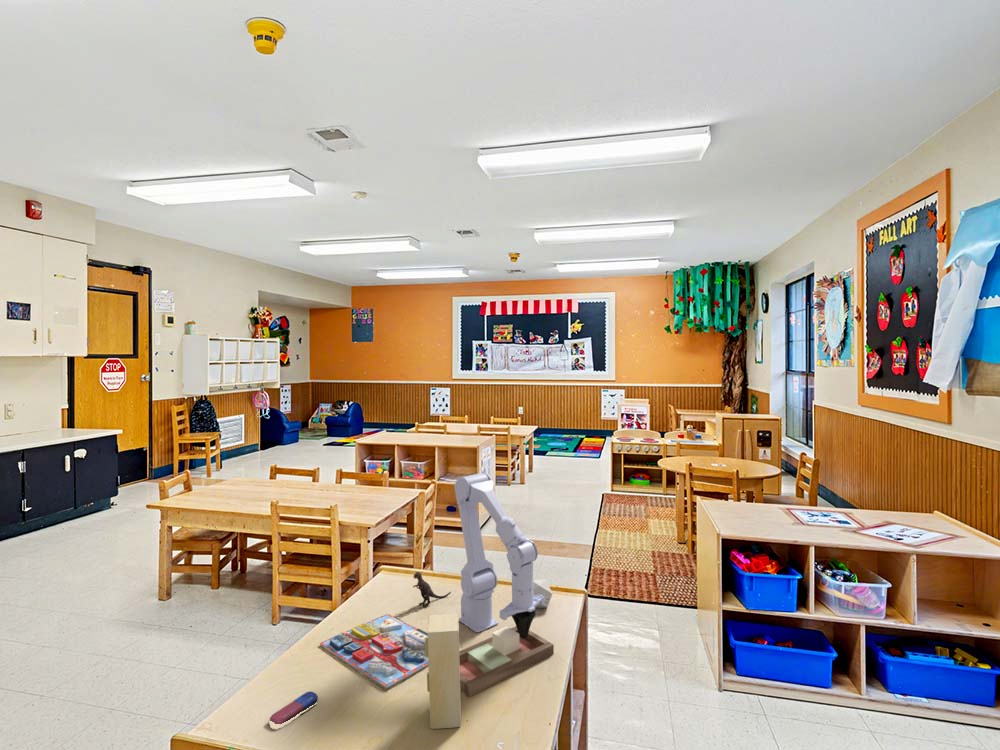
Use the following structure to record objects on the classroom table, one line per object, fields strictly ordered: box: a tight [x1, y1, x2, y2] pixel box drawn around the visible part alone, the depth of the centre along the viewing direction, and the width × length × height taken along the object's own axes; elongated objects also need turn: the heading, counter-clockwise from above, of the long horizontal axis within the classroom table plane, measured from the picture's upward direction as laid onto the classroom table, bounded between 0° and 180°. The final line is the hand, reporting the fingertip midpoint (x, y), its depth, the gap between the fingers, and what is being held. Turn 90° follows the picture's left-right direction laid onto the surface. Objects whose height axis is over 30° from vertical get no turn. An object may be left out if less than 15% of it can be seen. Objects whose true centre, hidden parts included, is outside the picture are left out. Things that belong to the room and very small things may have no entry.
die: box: [533, 578, 553, 609], centre depth 167 cm, size 8×9×10 cm
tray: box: [459, 626, 555, 698], centre depth 136 cm, size 14×28×2 cm, turn 129°
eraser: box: [269, 691, 319, 724], centre depth 118 cm, size 11×4×2 cm, turn 146°
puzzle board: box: [319, 613, 429, 691], centre depth 144 cm, size 30×23×3 cm
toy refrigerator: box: [425, 613, 462, 730], centre depth 116 cm, size 8×7×21 cm
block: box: [491, 626, 519, 656], centre depth 138 cm, size 5×5×4 cm
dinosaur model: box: [412, 571, 452, 609], centre depth 170 cm, size 4×11×14 cm
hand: (523, 636), depth 142 cm, fingers closed
